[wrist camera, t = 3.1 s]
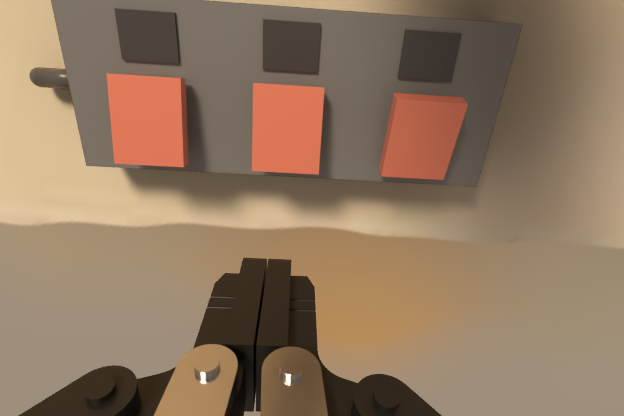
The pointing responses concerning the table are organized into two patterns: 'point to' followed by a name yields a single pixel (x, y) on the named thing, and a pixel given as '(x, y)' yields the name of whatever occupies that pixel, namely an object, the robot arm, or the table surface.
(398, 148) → the block
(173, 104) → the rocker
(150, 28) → the power strip
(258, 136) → the block
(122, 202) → the table surface
